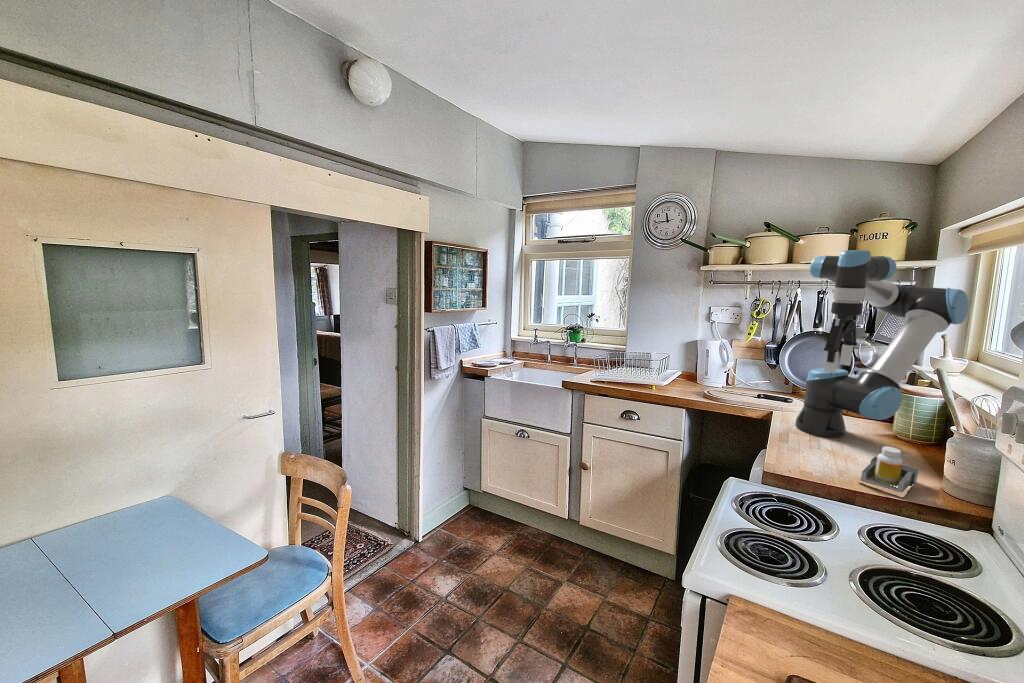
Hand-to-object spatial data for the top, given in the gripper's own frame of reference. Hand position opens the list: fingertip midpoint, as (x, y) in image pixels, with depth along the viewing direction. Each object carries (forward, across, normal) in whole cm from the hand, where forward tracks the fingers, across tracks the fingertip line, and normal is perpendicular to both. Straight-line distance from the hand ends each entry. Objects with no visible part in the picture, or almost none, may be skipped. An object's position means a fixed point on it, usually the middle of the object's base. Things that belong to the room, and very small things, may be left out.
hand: (837, 368), depth 138 cm
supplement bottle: (+28, +10, +18) cm, 35 cm away
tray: (+29, +8, +18) cm, 35 cm away
